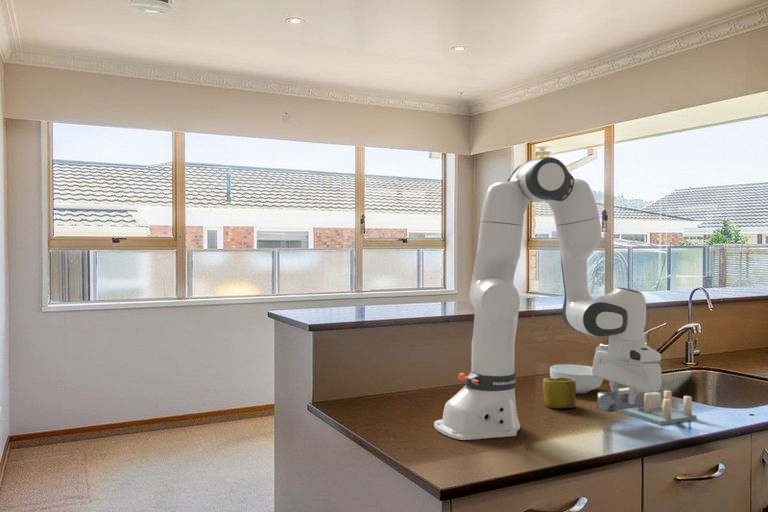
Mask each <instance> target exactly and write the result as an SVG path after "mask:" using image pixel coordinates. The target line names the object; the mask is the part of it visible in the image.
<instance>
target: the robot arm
mask: <svg viewBox="0 0 768 512" xmlns="http://www.w3.org/2000/svg"><path fill="white" fill-rule="evenodd" d="M539 202H541V203H542V202H546V203H547V205H549V207H550V208H551V210H552V213H553V219H554V222H555V223H554V224H555V228H556V234H557V239H558V245H559V253H560V265H561V272H562V282H563V290H564V291H563V292H564V299H563V304H562V310H561V314H562V315H561V317H562V319H563V323H564V324H565V325H566V327H567V328H568V329H570V330H571V331H572V332H576V333H582V334H585V335H589V336H592V337H596V338H597V337H598V338H601V337H602V338H603V337H608V344H604V343H600V344H599V345H597V346H596V347H595V352H594V356H593V361H592V366H591V367H592V373H593V375H594V376H596V377H599V378H602V379H603V380H607V381H608V382H609V383H608V384H609V387H610V389H611V392H614V391H619V389H620V388H619V385H623V386H626V387H629V391H631V392H630V394H629V396H626V400H625V402H626V403H629V404H634V403H635V397H636V395H637V394H638V392H639V390H642V391H645V392H649V393H652V392H657V393H659V391H660V390H661V388H662V377H663V376H662V367H661V364H660V363H659V362H661V361H662V354H661V353H660V352H659V351H657V350H655V349H653V348H652V347H650V346H649V345H648V344H645V343H646V342H645V341H646V338H645V333H644V332H645V331H644V330H645V327H646V324H647V304H646V303H647V302H646V298H645V296H644V294H643V293H642V292H641V291H639V290H635V289H630V288H625V287H615V288H614V289H613V290H612V291H610V292H609V293H607V294H605V295H602V296H599V297H596V298H593V297H592V296H591V294H590V292H589V285H588V279H587V278H588V277H587V269H586V268H587V267H586V265H587V264H586V263H587V260H588V258H590V257H589V256H591V254H593V252H594V251H596V249H597V248H598V247H599V246H600V244H601V242H602V225H601V220H600V215H599V210H598V206H597V202H596V199H595V196H594V193H593V191H592V188H591V187H590V185H589V183H588V182H587V181H585V180H583V179H580V178H575V177H574V176H573V174H572V173H570V171H569V170H568V168H567V167H566V165H565V164H564V163H563V162H562V161H561V160H559V159H557V158H555V157H552V156H542V157H538V158H533V159H530V160H528V161H525V162H524V163H522V164H520V165H519V166H518V167H516V168H514V170H513V172H512V173H511V175H510V176H509V178H508V179H507V180H506V181H505V180H501V181H500V180H499V181H496V182H493V184H491V185H489V187H488V188H487V190H486V194H485V197H484V200H483V205H482V209H481V213H480V220H479V221H480V223H479V230H478V239H477V248H476V254H475V255H476V256H475V260H474V265H473V271H472V276H471V283H470V288H469V302H470V304H471V306H472V308H473V309H474V318H473V331H472V339H471V367H470V368H471V370H470V371H469V373H468V375H467V374H466V373H463V372H460V373H459V374H458V376H457V378H458V380H459V381H462V382H465V384H464V385H465V386H463V387H462V388H461V389H460V390H459V391H458V392H457V393H456V394H454V395H453V396H452V397H451V398H450V399H449V400H447V401H446V403H445V404H444V408H443V414H442V419H437V420H435V421H434V422H433V426H434V429H435V430H436V431H438V432H439V433H440V434H443V435H445V436H447V437H449V438H453V439H456V440H461V441H466V440H467V441H468V440H469V441H470V440H481V439H492V438H493V439H494V438H506V437H516V436H517V435H518V431H519V430H520V429H521V424H520V422H519V421H520V420H519V416H518V412H517V404H516V394H515V390H516V387H517V372H515V345H516V335H517V331H518V330H517V328H518V321H519V312H520V311H519V310H520V306H521V299H520V294H519V292H518V289H517V288H516V287H515V285H514V279H515V274H516V270H517V265H518V263H519V259H520V258H521V257H520V256H521V250H522V242H523V241H522V239H523V232H524V219H525V213H526V210H527V207H528V205H529V204H530V203H539Z"/></svg>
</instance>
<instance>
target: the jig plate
mask: <svg viewBox="0 0 768 512" xmlns="http://www.w3.org/2000/svg"><path fill="white" fill-rule="evenodd" d="M618 389H619V391H623V390H629V386H627V387H623V388H621V387H620V388H618ZM672 394H673V393H672V391H671V390H663V399H662V393H660V392H652V393H649V392H645V394H644V407H638V408H630V409H622V410H616V411H617V412H619V413H623V414H625V415H628V416H632V417H634V418H637V419H641V420H643V421H646V422H648V423H649V422H650V423H653V424H655V425H657V426H665V425H670V424H675V423H682V422H687V421H693V420H697V418H698V417H697V416H698V415H697V414H693V411H692V409H693V408H692V403H693V402H692V401H693V397H692V396H690V395H684V396H683V407H682V408H683V409H682V410H680V409H677V408H673V407H672V397H673V396H672ZM616 411H615V412H616Z"/></svg>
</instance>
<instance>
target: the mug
mask: <svg viewBox="0 0 768 512" xmlns="http://www.w3.org/2000/svg"><path fill="white" fill-rule="evenodd" d="M542 390H543V397H544V404H545V405H546V407H548V408H550V409H558V410H559V409H571V408H574V409H575V408H576V405H577V404H576V403H577V401H576V394H577V393H576V381H575V379H572V378H563V377H560V378H556V377H552V378H551V377H545V378H543V380H542Z"/></svg>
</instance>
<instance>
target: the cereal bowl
mask: <svg viewBox="0 0 768 512" xmlns="http://www.w3.org/2000/svg"><path fill="white" fill-rule="evenodd" d="M552 377H556V378H560V377H563V378H572V379H575V381H576V394H587V393H589V392H590V391H592V390H596V389H598V388H599V387H600V386H601V385H602V383H603V381H604V379H602V378H599V377H596V376H594V375H593V373H592V366H590V365H589V366H588V365H581V364H566V363H565V364H554V365H551V366H550V367H549V378H552Z"/></svg>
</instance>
